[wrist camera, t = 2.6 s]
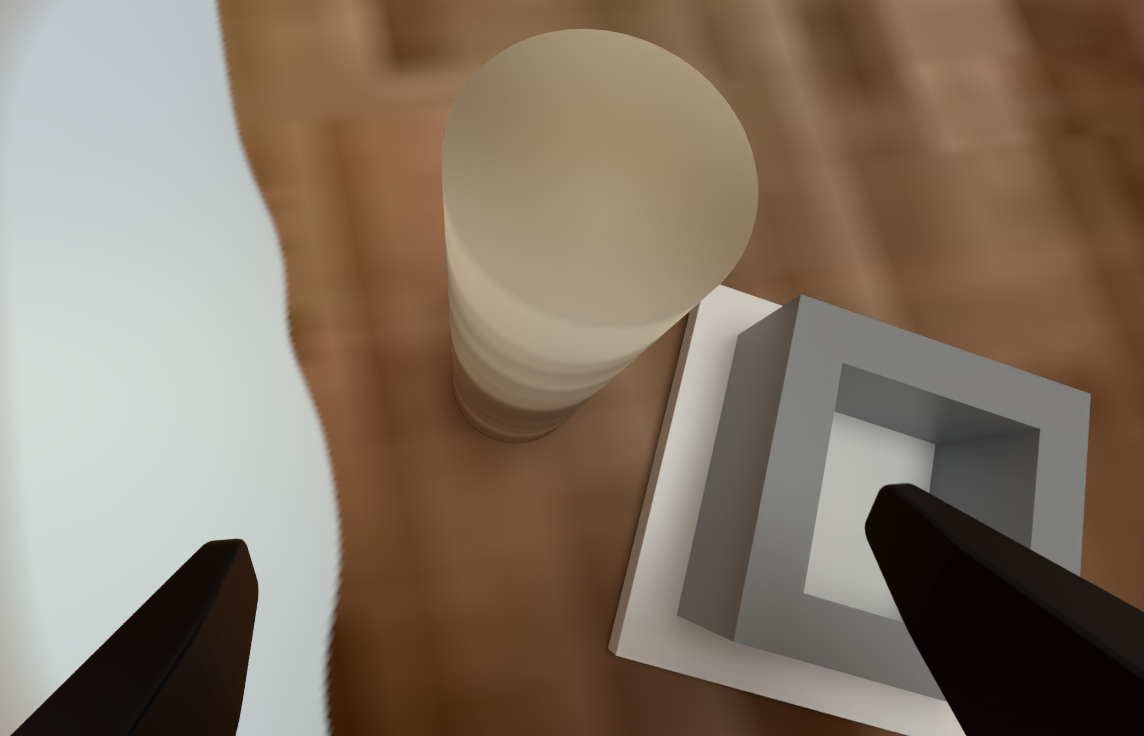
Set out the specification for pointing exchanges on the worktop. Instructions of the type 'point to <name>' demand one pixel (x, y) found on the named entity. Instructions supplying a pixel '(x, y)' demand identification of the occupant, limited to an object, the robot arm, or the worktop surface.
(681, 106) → the peg
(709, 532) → the socket
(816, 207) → the worktop surface
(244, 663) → the robot arm
